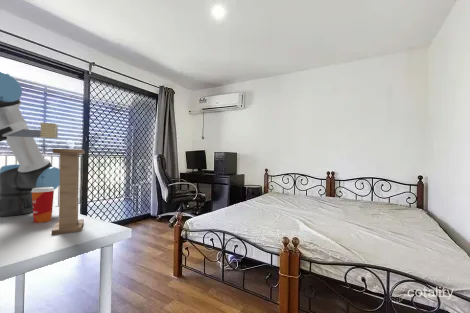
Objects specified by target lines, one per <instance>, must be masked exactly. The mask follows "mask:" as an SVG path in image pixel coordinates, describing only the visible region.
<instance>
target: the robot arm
mask: <svg viewBox="0 0 470 313" xmlns="http://www.w3.org/2000/svg"><path fill="white" fill-rule="evenodd" d="M22 93H23V89H22V86H21V84H20V82H19V81H18V80H17V79H16V78H15V77H14V76H12V75H11V74H8V73H7V72H5V71H3V70H0V142H2V141H6V143H7V145H8V147H9V149H10V150H11V152H12V154H13V156H14V157H15V159H16V161H17V162H18V163H16V164H7V165H3V166H1V167H0V217H10V216H11V217H13V216H20V215H25V214H31V213H32V214H33V203H32V192H31V191H32V189H33V188H38V187H53V188H54V190H55V191H56V189H58V187H60V168H58V167H56V166H53V165H52V163H51V160H49V159H47V158H44V156H43V153H42V152H41V150H40V148H39V146H38V144H37V142H36V140H35V137H12V136H7V135H10V134H13V133H15V132H18V131H21V130H23V129H28V130H30V128H29V126H28V124H27V122H26V120H25V118H24V115H23V114H22V112H21V110H20V106H21V104H22V102H21V100H20V98H21V97H22Z"/></svg>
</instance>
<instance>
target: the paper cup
mask: <svg viewBox="0 0 470 313" xmlns="http://www.w3.org/2000/svg"><path fill="white" fill-rule="evenodd" d="M55 191H56V189H55V190H54V188H53V187H38V188H33V189H32V191H31V192H32V203H33V212H32V214H33V215H32V216H33V223H34V224H42V223H43V224H44V223H49V222H51V221H52V216H53V206H54V195H55V194H54V192H55Z"/></svg>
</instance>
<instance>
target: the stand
mask: <svg viewBox="0 0 470 313" xmlns="http://www.w3.org/2000/svg"><path fill="white" fill-rule="evenodd" d="M52 153H53V154H59V169H60V185H59V195H58V196H59V198H58V200H59V201H58V203H59V204H58V205H59V207H58V209H59V210H58V221H56V222H57V223H56V224H55V225H54V227H53V228H52V230H51V236H53V235H62V234H68V233H69V234H70V233H71V234H72V233H77V232H82V231H83V227H84V222H85V221H84V219H79V186H80V185H79V179H80V178H79V177H80V176H79V175H80V154H81V155H85V154H86V153H85V149H81V148H77V149H76V148H75V149H73V148H69V149H68V148H52Z"/></svg>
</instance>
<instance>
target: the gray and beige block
mask: <svg viewBox="0 0 470 313" xmlns="http://www.w3.org/2000/svg"><path fill="white" fill-rule="evenodd" d="M58 127H59V125H58V124H56V123H53V122H52V123H51V122H50V123H48V122H40V129H29V130H28V129H23V130H21V131H18V132H15V133H13V134H10V135H7V136H12V137H33V138H41V139H59V136H58V133H59V130H58V129H59V128H58Z"/></svg>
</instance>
